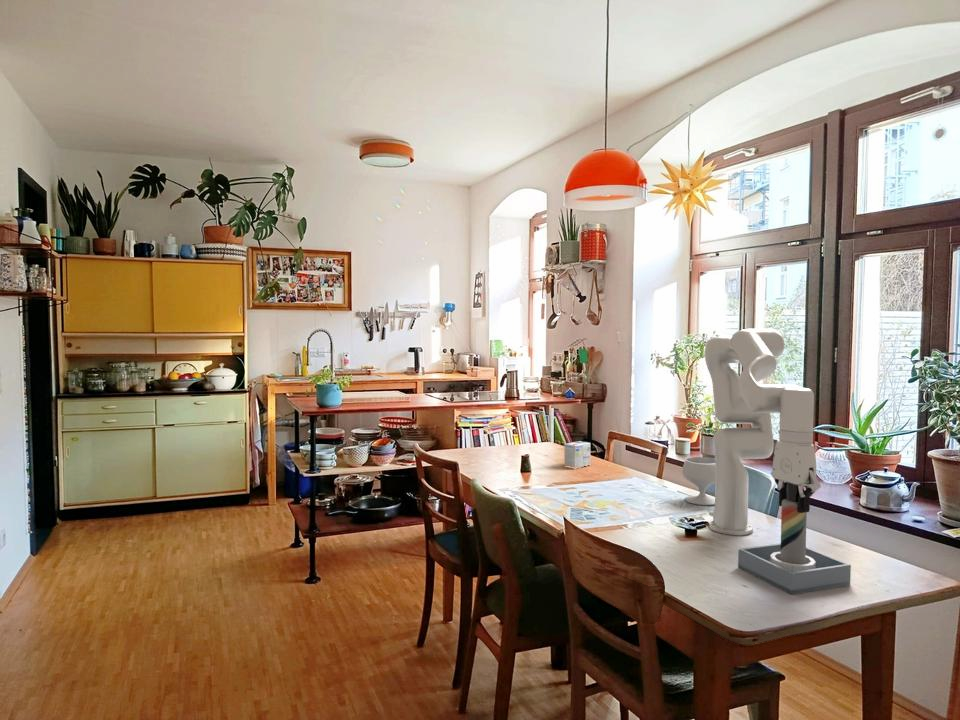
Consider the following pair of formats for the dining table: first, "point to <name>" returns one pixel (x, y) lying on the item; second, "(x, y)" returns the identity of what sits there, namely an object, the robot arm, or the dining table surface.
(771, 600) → the dining table surface
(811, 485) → the robot arm
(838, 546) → the dining table surface
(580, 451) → the light bulb box
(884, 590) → the dining table surface
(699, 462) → the chalice
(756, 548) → the socket box
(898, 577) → the dining table surface
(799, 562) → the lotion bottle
